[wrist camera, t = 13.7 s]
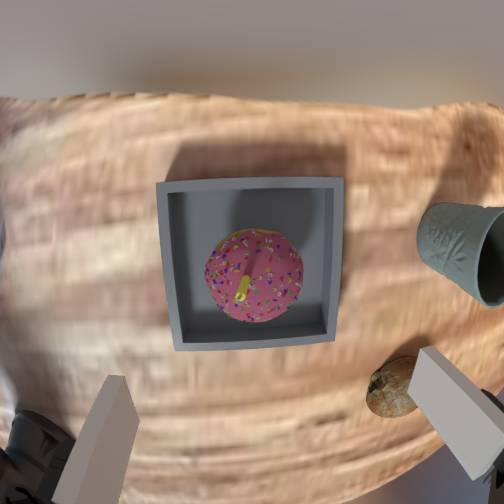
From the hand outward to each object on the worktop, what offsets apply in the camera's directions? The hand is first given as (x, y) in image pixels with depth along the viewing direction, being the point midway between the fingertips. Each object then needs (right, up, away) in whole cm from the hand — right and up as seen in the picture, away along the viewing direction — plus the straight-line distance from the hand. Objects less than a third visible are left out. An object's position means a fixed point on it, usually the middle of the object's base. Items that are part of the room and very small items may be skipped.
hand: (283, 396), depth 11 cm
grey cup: (+22, +8, +21) cm, 32 cm away
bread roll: (+20, -13, +26) cm, 36 cm away
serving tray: (-1, +5, +20) cm, 20 cm away
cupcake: (-1, +5, +19) cm, 20 cm away
